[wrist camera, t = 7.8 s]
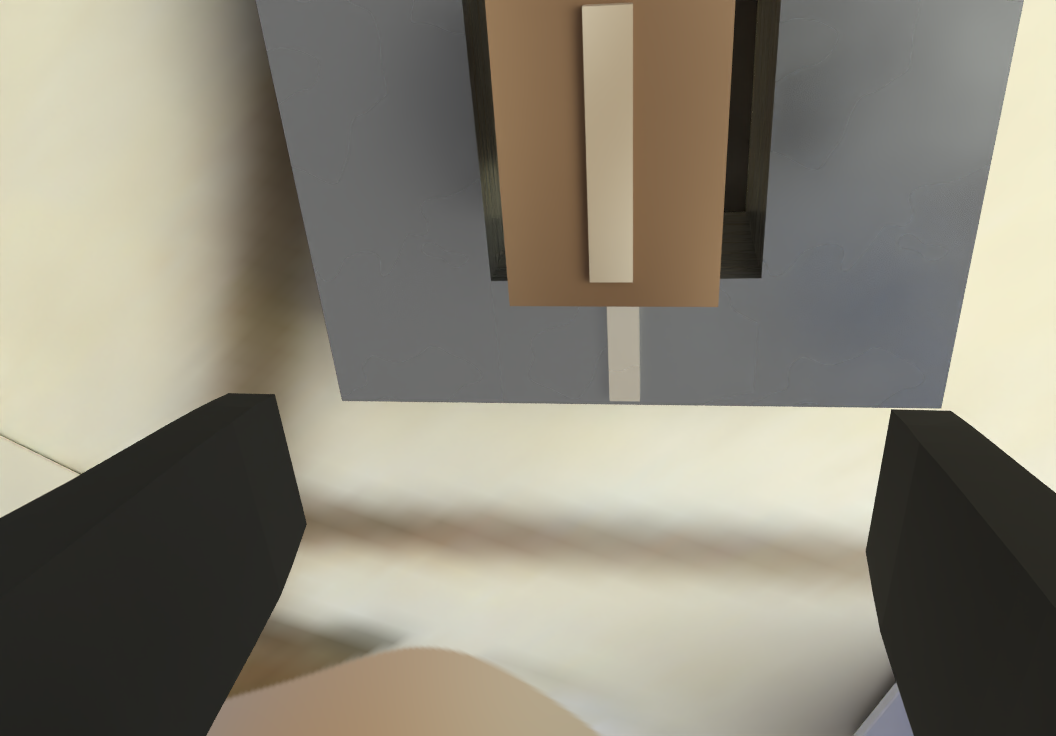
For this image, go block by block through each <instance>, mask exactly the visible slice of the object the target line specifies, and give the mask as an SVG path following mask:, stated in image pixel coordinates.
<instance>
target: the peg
mask: <svg viewBox="0 0 1056 736" xmlns="http://www.w3.org/2000/svg"><path fill="white" fill-rule="evenodd" d="M735 1H736V0H485V8H486V21H487V33H488V45H489V58H490V70H491V82H492V95H493V107H494V119H495V132H496V144H497V156H498V169H499V181H500V193H501V206H502V218H503V230H504V243H505V255H506V267H507V280H508V292H509V304H510V306H587V307H718V304H719V286H720V268H721V250H722V232H723V215H724V197H725V179H726V161H727V143H728V125H729V108H730V90H731V72H732V54H733V36H734V18H735Z"/></svg>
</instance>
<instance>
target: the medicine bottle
mask: <svg viewBox="0 0 1056 736" xmlns="http://www.w3.org/2000/svg"><path fill="white" fill-rule="evenodd" d="M79 475H80V474H78V473H76V472H74V471H72V470H70V469H68V468H66V467H64V466H62V465H60V464H58V463H56V462H54V461H52V460H50V459H48V458H45V457H43V456H41V455H39V454H37V453H35V452H33V451H31V450H29V449H27V448H25V447H23V446H21V445H19V444H17V443H15V442H13V441H11V440H9V439H7V438H5V437H3V436H1V435H0V518H1V517H3V516H5V515H6V514H8V513H10V512H12V511H14V510H16V509H18V508H20V507H21V506H23V505H25V504H27V503H29V502H31V501H33V500H35V499H36V498H38V497H40V496H42V495H44V494H46V493H48V492H50V491H51V490H53V489H55V488H57V487H59V486H61V485H63V484H64V483H66V482H68V481H70V480H72V479H74V478H75V477H77V476H79Z"/></svg>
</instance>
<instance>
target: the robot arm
mask: <svg viewBox="0 0 1056 736" xmlns="http://www.w3.org/2000/svg"><path fill="white" fill-rule="evenodd" d="M306 525H307V523H306V519H305V515H304V511H303V507H302V503H301V499H300V495H299V491H298V487H297V483H296V479H295V475H294V471H293V466H292V462H291V458H290V454H289V450H288V446H287V442H286V438H285V434H284V430H283V426H282V422H281V418H280V414H279V410H278V406H277V401H276V397H275V394H236V393H228V394H226V395H224V396H222V397H219V398H217V399H215V400H213V401H211V402H209V403H207V404H205V405H203V406H201V407H199V408H197V409H195V410H193V411H191V412H189V413H188V414H186V415H184V416H182V417H180V418H179V419H177V420H175V421H173V422H171V423H170V424H168V425H166V426H164V427H163V428H161V429H159V430H157V431H156V432H154V433H152V434H150V435H149V436H147V437H145V438H143V439H142V440H140V441H138V442H136V443H135V444H133V445H131V446H130V447H128V448H126V449H124V450H123V451H121V452H119V453H117V454H116V455H114V456H112V457H110V458H109V459H107V460H105V461H103V462H102V463H100V464H98V465H96V466H95V467H93V468H91V469H89V470H88V471H86V472H84V473H82V474H81V475H79V476H77V477H75V478H74V479H72V480H70V481H68V482H66V483H64V484H63V485H61V486H59V487H57V488H55V489H53V490H51V491H50V492H48V493H46V494H44V495H42V496H40V497H38V498H36V499H35V500H33V501H31V502H29V503H27V504H25V505H23V506H21V507H20V508H18V509H16V510H14V511H12V512H10V513H8V514H6V515H5V516H3V517H1V518H0V736H206V735H207V733H208V731H209V729H210V727H211V726H212V724H213V722H214V720H215V718H216V716H217V714H218V713H219V711H220V709H221V707H222V705H223V703H224V702H225V700H226V698H227V696H228V694H229V692H230V690H231V689H232V687H233V685H234V683H235V681H236V679H237V677H238V676H239V674H240V672H241V670H242V668H243V666H244V664H245V663H246V661H247V659H248V657H249V655H250V653H251V651H252V650H253V648H254V646H255V644H256V642H257V640H258V638H259V636H260V634H261V632H262V631H263V629H264V627H265V625H266V623H267V621H268V619H269V617H270V615H271V613H272V611H273V609H274V608H275V606H276V604H277V602H278V600H279V598H280V596H281V593H282V591H283V588H284V586H285V583H286V580H287V578H288V575H289V573H290V570H291V568H292V565H293V562H294V559H295V556H296V554H297V551H298V548H299V545H300V542H301V539H302V536H303V533H304V530H305V527H306ZM866 556H867V562H868V567H869V573H870V579H871V585H872V591H873V596H874V601H875V607H876V612H877V617H878V622H879V627H880V632H881V635H882V639H883V642H884V645H885V648H886V652H887V655H888V658H889V661H890V664H891V667H892V670H893V673H894V677H895V680H896V683H895V684H894V685H893V686H892V688H891V689H890V690H889V691H888V693H887V694H886V695H885V696H884V698H883V699H882V700H881V701H880V703H879V704H878V705H877V706H876V708H875V709H874V710H873V711H872V712H871V714H870V715H869V716H868V717H867V719H866V720H865V721H864V722H863V724H862V725H861V726H860V727H859V729H858V730H857V731H856V732H855V734H854V735H853V736H1056V493H1055V492H1054V491H1053V490H1051V489H1050V488H1049V487H1047V486H1046V485H1045V484H1044V483H1042V482H1041V481H1040V480H1039V479H1037V478H1036V477H1035V476H1034V475H1032V474H1031V473H1030V472H1029V471H1027V470H1026V469H1025V468H1024V467H1022V466H1021V465H1020V464H1019V463H1017V462H1016V461H1015V460H1014V459H1012V458H1011V457H1010V456H1009V455H1007V454H1006V453H1005V452H1004V451H1002V450H1001V449H1000V448H999V447H997V446H996V445H995V444H994V443H992V442H991V441H990V440H989V439H987V438H986V437H985V436H984V435H982V434H981V433H980V432H978V431H977V430H976V429H975V428H973V427H972V426H971V425H969V424H968V423H967V422H965V421H964V420H963V419H961V418H960V417H959V416H957V415H956V414H954V413H953V412H951V411H933V410H892V409H891V414H890V420H889V425H888V431H887V436H886V442H885V448H884V453H883V459H882V464H881V470H880V475H879V481H878V486H877V492H876V497H875V503H874V509H873V514H872V520H871V525H870V531H869V536H868V542H867V547H866Z"/></svg>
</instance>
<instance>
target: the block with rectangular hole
mask: <svg viewBox="0 0 1056 736" xmlns="http://www.w3.org/2000/svg"><path fill="white" fill-rule="evenodd" d="M1023 2H1024V0H758V6H757V23H756V40H755V58H754V75H753V93H752V110H751V127H750V145H749V162H748V179H747V197H746V212H724V215H723V232H722V250H721V268H720V286H719V304H718V307H587V306H510V304H509V292H508V280H507V267H506V255H505V243H504V230H503V218H502V206H501V193H500V181H499V169H498V156H497V144H496V132H495V119H494V107H493V95H492V82H491V70H490V58H489V45H488V33H487V21H486V8H485V0H256V5H257V9H258V14H259V18H260V23H261V28H262V32H263V37H264V42H265V46H266V51H267V55H268V60H269V65H270V69H271V74H272V79H273V83H274V88H275V92H276V97H277V102H278V106H279V111H280V115H281V120H282V125H283V129H284V134H285V139H286V143H287V148H288V152H289V157H290V162H291V166H292V171H293V176H294V180H295V185H296V189H297V194H298V199H299V203H300V208H301V213H302V217H303V222H304V226H305V231H306V236H307V240H308V245H309V249H310V254H311V259H312V263H313V268H314V273H315V277H316V282H317V286H318V291H319V296H320V300H321V305H322V310H323V314H324V319H325V323H326V328H327V333H328V337H329V342H330V346H331V351H332V356H333V360H334V365H335V370H336V374H337V379H338V383H339V388H340V393H341V397H342V401H398V402H477V403H556V404H635V405H714V406H793V407H872V408H941V406H942V401H943V397H944V392H945V387H946V382H947V377H948V372H949V367H950V362H951V357H952V352H953V347H954V342H955V337H956V332H957V327H958V323H959V318H960V313H961V308H962V303H963V298H964V293H965V288H966V283H967V278H968V273H969V268H970V263H971V258H972V253H973V248H974V244H975V239H976V234H977V229H978V224H979V219H980V214H981V209H982V204H983V199H984V194H985V189H986V184H987V179H988V174H989V170H990V165H991V160H992V155H993V150H994V145H995V140H996V135H997V130H998V125H999V120H1000V115H1001V110H1002V105H1003V100H1004V95H1005V91H1006V86H1007V81H1008V76H1009V71H1010V66H1011V61H1012V56H1013V51H1014V46H1015V41H1016V36H1017V31H1018V26H1019V21H1020V17H1021V12H1022V7H1023Z"/></svg>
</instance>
